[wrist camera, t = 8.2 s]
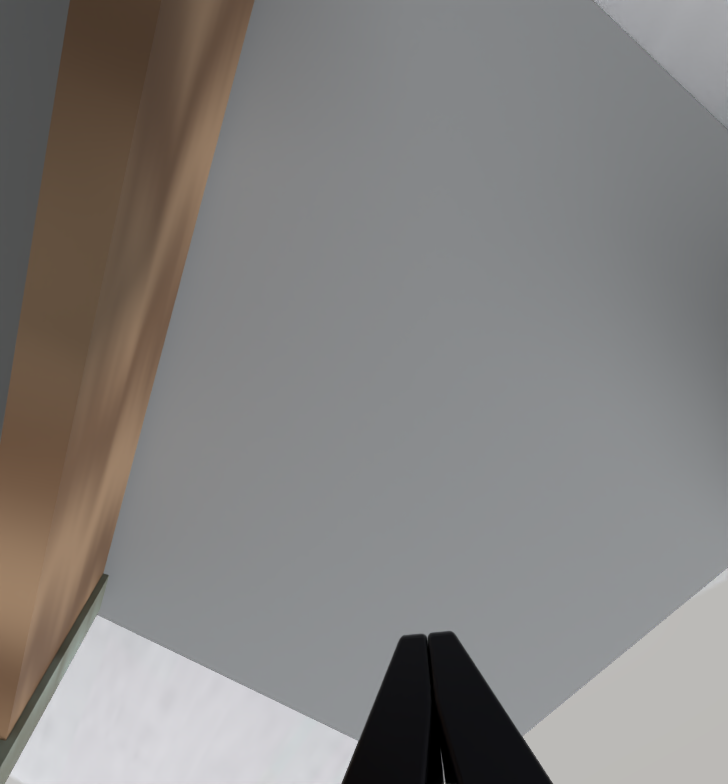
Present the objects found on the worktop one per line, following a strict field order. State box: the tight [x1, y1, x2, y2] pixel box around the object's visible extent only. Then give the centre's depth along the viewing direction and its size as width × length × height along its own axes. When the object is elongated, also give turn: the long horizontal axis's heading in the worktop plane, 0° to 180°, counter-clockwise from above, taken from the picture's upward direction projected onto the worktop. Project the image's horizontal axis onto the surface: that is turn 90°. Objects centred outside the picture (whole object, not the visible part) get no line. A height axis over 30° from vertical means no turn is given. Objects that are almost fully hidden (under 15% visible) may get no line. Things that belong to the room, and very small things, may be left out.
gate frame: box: [0, 0, 728, 782], centre depth 14 cm, size 24×29×10 cm
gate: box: [0, 0, 255, 784], centre depth 13 cm, size 22×2×7 cm, turn 159°
